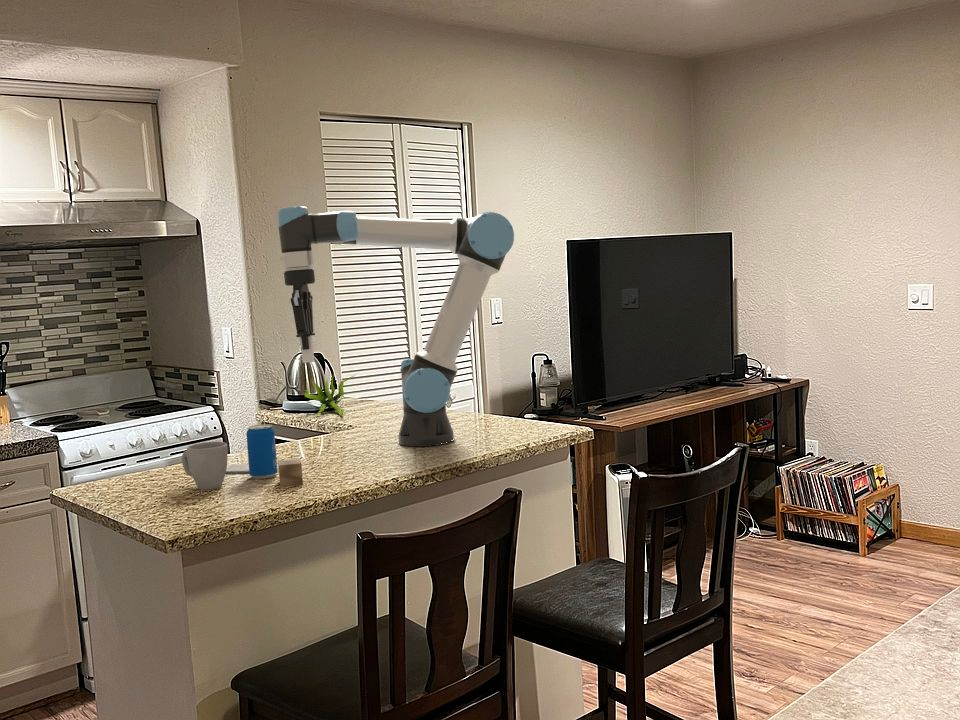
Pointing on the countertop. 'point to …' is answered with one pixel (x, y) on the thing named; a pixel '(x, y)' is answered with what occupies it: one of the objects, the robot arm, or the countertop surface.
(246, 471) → the tile
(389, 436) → the countertop surface
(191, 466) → the mug
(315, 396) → the decorative plant
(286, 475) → the walnut block
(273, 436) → the beverage can
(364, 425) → the countertop surface
